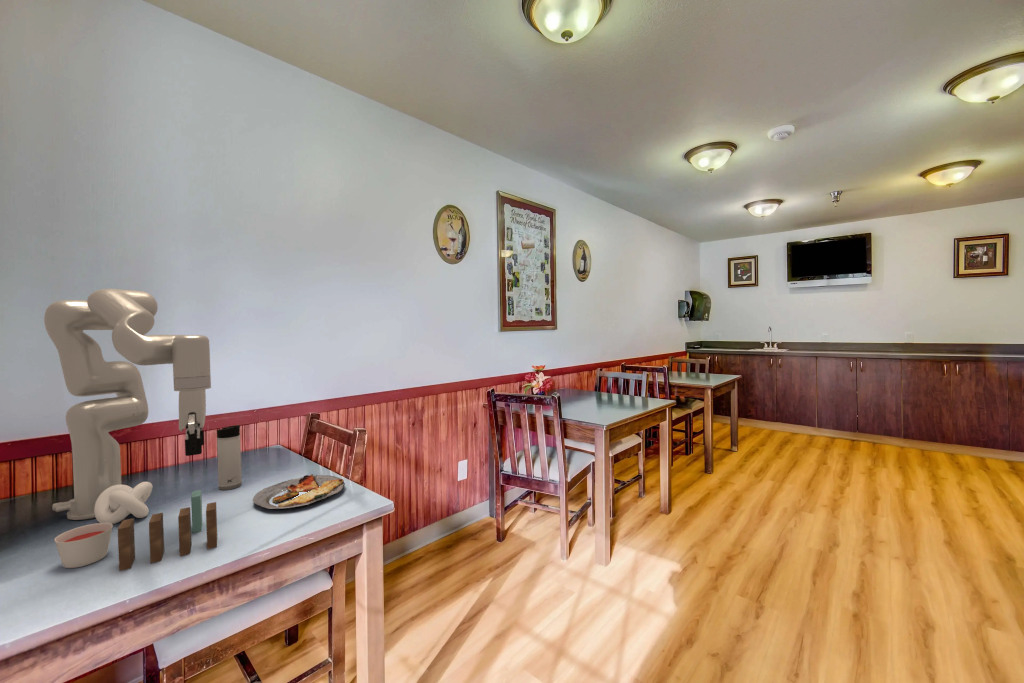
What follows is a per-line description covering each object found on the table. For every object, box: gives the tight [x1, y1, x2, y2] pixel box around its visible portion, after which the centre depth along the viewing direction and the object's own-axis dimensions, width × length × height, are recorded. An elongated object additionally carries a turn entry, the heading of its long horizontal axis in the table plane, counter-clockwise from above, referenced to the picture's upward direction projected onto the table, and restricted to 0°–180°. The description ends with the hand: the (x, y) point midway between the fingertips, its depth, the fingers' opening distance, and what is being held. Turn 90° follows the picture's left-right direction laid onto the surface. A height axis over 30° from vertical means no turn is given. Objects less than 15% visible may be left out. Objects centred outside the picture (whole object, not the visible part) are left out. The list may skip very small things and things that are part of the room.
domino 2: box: [148, 512, 165, 564], centre depth 93 cm, size 2×5×9 cm, turn 34°
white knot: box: [94, 481, 153, 525], centre depth 113 cm, size 11×12×9 cm
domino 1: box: [117, 517, 136, 572], centre depth 90 cm, size 2×5×9 cm, turn 34°
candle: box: [54, 522, 114, 569], centre depth 92 cm, size 9×9×6 cm
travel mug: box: [216, 424, 243, 491], centre depth 135 cm, size 6×7×20 cm
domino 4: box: [190, 489, 203, 534], centre depth 107 cm, size 2×5×9 cm, turn 34°
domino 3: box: [177, 506, 192, 557], centre depth 96 cm, size 2×5×9 cm, turn 34°
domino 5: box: [205, 501, 218, 550], centre depth 99 cm, size 2×5×9 cm, turn 34°
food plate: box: [252, 473, 346, 510], centre depth 127 cm, size 25×23×4 cm
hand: (195, 450), depth 106 cm, fingers open, 9 cm apart
